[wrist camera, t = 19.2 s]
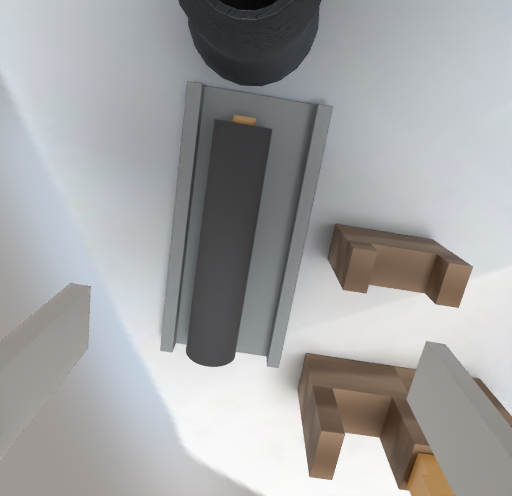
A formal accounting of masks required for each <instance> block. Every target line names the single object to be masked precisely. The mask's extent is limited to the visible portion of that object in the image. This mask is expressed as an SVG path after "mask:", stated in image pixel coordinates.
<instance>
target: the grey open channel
mask: <svg viewBox="0 0 512 496" xmlns="http://www.w3.org/2000/svg"><path fill="white" fill-rule="evenodd" d="M332 108H333V106H328V105H322V104H317V105H314V104H308V103H302V102H296V101H290V100H285V99H279V98H273V97H267V96H261V95H255V94H250V93H244V92H238V91H232V90H226V89H221V88H215V87H209V86H205V85H203V84H200V83H194V82H189V81H187V90H186V100H185V110H184V120H183V130H182V140H181V150H180V159H179V169H178V179H177V189H176V199H175V209H174V219H173V229H172V239H171V249H170V259H169V269H168V278H167V288H166V298H165V308H164V318H163V328H162V338H161V348H160V351H167V352H173V349H174V346H175V344H176V343H181V344H187V339H188V331H189V323H190V314H191V306H192V298H193V290H194V282H195V274H196V265H197V257H198V249H199V241H200V233H201V225H202V216H203V208H204V200H205V192H206V184H207V175H208V167H209V159H210V151H211V143H212V135H213V126H214V119H216V120H223V121H229V122H232V119H233V115H239V116H245V117H251V118H256V124H255V126H259V127H264V128H270V129H272V135H271V141H270V147H269V153H268V159H267V165H266V172H265V178H264V184H263V190H262V196H261V202H260V208H259V214H258V220H257V226H256V232H255V238H254V244H253V250H252V256H251V262H250V268H249V274H248V280H247V286H246V292H245V298H244V304H243V310H242V316H241V322H240V328H239V334H238V340H237V346H236V352H242V353H248V354H255V355H262V356H267V366H269V367H276V368H279V364H280V359H281V354H282V349H283V344H284V340H285V335H286V330H287V325H288V320H289V316H290V311H291V306H292V301H293V296H294V291H295V287H296V282H297V277H298V272H299V267H300V263H301V258H302V253H303V248H304V243H305V238H306V234H307V229H308V224H309V219H310V214H311V210H312V205H313V200H314V195H315V190H316V185H317V181H318V176H319V171H320V166H321V161H322V157H323V152H324V147H325V142H326V137H327V133H328V128H329V123H330V118H331V113H332Z"/></svg>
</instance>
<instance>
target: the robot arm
mask: <svg viewBox="0 0 512 496" xmlns="http://www.w3.org/2000/svg"><path fill="white" fill-rule="evenodd" d="M90 289H91V286H85V285H79V284H73V283H70V284H69V285H68V286H66V287H65V288H64V289H63V290H62V291H61V292H59V293H58V294H57V295H56V296H54V297H53V298H52V299H51V300H50V301H48V303H46V304H45V305H44V306H42V307H41V308H40V309H39V310H38V311H36V312H35V313H34V314H33V315H31V316H30V317H29V318H28V319H27V320H25V321H24V322H23V323H22V324H21V325H19V326H18V327H17V328H16V329H15V330H13V331H12V332H11V333H10V334H9V335H7V336H6V337H5V338H4V339H2V340H1V341H0V460H1V459H2V458H3V456H4V455H5V454H6V453H7V451H8V450H9V449H10V447H11V446H12V445H13V444H14V442H15V441H16V440H17V438H18V437H19V436H20V435H21V433H22V432H23V431H24V430H25V428H26V427H27V426H28V425H29V423H30V422H31V421H32V419H33V418H34V417H35V416H36V414H37V413H38V412H39V410H40V409H41V408H42V407H43V405H44V404H45V403H46V401H47V400H48V399H49V398H50V397H51V395H52V394H53V393H54V391H55V390H56V389H57V388H58V386H59V385H60V384H61V382H62V381H63V380H64V378H65V377H66V376H67V375H68V374H69V372H70V371H71V370H72V368H73V367H74V366H75V365H76V363H77V362H78V361H79V359H80V358H81V357H82V356H83V354H84V353H85V352H86V351H87V349H88V337H89V313H90ZM406 400H407V402H408V404H409V406H410V408H411V410H412V412H413V414H414V416H415V418H416V420H417V422H418V424H419V426H420V428H421V430H422V432H423V434H424V436H425V438H426V440H427V442H428V444H429V446H430V448H431V450H432V452H433V454H434V456H435V458H436V460H437V462H438V464H439V466H440V468H441V470H442V472H443V474H444V476H445V478H446V480H447V482H448V484H449V486H450V488H451V490H452V492H453V494H454V496H512V426H511V425H509V423H508V422H507V421H506V420H505V418H504V417H503V416H502V415H501V413H500V412H499V411H498V410H497V408H496V407H495V406H494V405H493V403H492V402H491V401H490V400H489V398H488V397H487V396H486V395H485V393H484V392H483V391H482V390H481V388H480V387H479V386H478V385H477V383H476V382H475V381H474V380H473V378H472V377H471V376H470V375H469V373H468V372H467V371H466V370H465V368H464V367H463V366H462V365H461V363H460V362H459V361H458V360H457V358H456V357H455V356H454V355H453V353H452V352H451V351H450V350H449V348H448V347H447V346H446V345H445V344H440V343H434V342H428V341H426V344H425V346H424V349H423V352H422V355H421V358H420V361H419V364H418V367H417V370H416V373H415V376H414V378H413V381H412V384H411V387H410V390H409V393H408V396H407V399H406Z"/></svg>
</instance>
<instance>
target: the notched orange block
mask: <svg viewBox="0 0 512 496" xmlns="http://www.w3.org/2000/svg"><path fill="white" fill-rule="evenodd" d="M407 486H408V488H409V491H410V493H411V496H454V494H453V492H452V490H451V488H450V486H449V484H448V482H447V480H446V478H445V476H444V474H443V472H442V470H441V468H440V466H439V464H438V462H437V460H436V458H435V456H434V455H429V454H422V453H418V455H417V458H416V461H415V464H414V467H413V469H412V472H411V475H410V478H409V481H408V483H407Z"/></svg>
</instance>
